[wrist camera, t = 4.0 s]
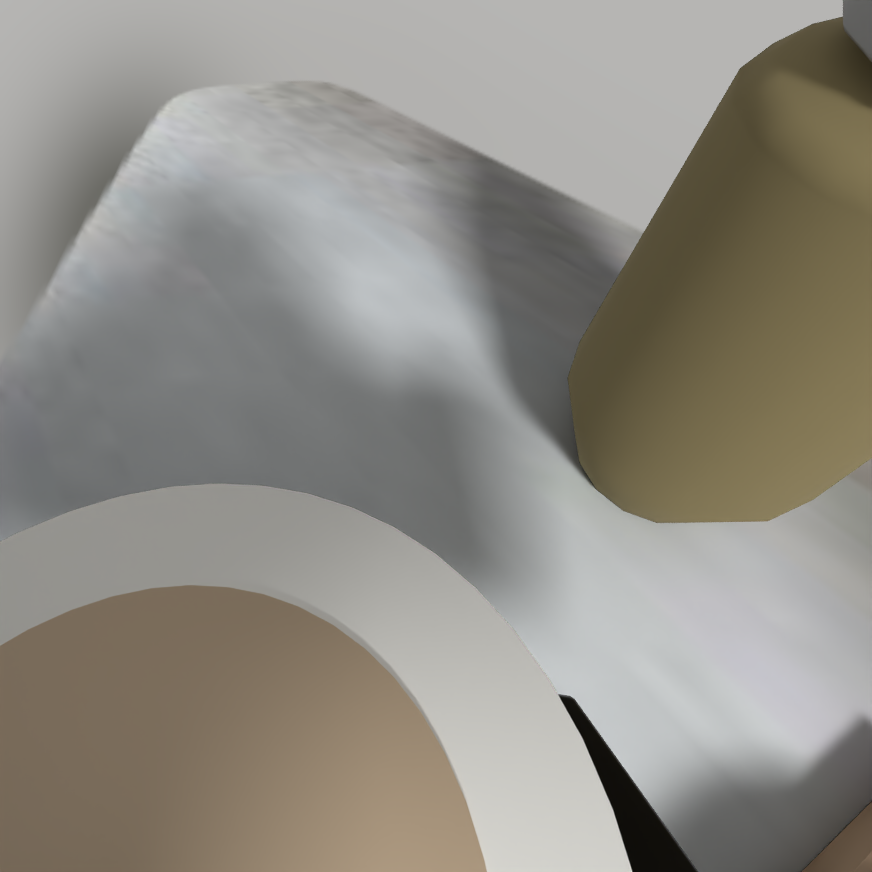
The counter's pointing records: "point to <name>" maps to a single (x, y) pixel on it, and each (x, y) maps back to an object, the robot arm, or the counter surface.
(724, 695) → the counter surface
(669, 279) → the squeeze bottle
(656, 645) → the counter surface
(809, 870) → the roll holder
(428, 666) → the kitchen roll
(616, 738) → the counter surface
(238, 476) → the counter surface
